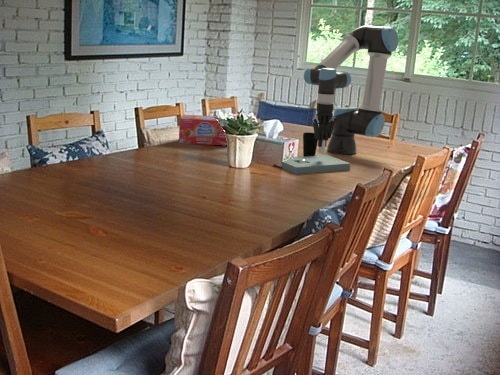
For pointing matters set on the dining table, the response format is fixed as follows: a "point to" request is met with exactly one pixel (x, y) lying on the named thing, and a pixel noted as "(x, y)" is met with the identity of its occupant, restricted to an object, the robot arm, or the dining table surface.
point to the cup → (309, 144)
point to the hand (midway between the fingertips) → (321, 153)
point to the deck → (315, 164)
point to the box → (201, 130)
